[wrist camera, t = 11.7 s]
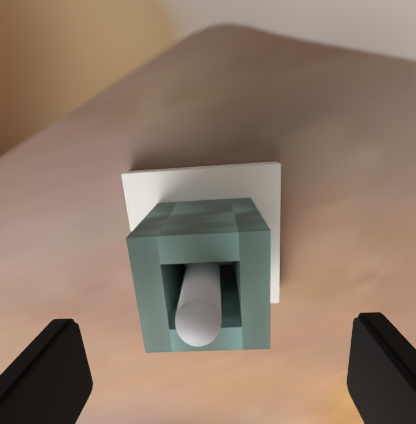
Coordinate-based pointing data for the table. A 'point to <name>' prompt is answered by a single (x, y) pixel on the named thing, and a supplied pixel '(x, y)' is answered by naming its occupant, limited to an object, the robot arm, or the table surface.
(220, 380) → the table surface
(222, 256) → the bead
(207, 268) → the white peg stand
